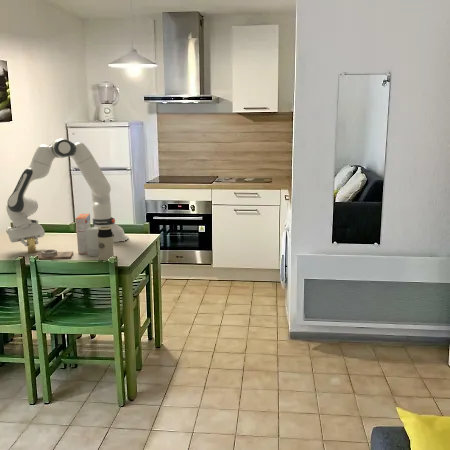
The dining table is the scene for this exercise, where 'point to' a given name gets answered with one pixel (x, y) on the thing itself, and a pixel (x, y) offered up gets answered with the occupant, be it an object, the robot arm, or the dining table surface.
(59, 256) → the coupling base
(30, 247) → the cylinder
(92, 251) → the skincare box
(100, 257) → the travel mug
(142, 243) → the dining table surface
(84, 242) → the cracker box
